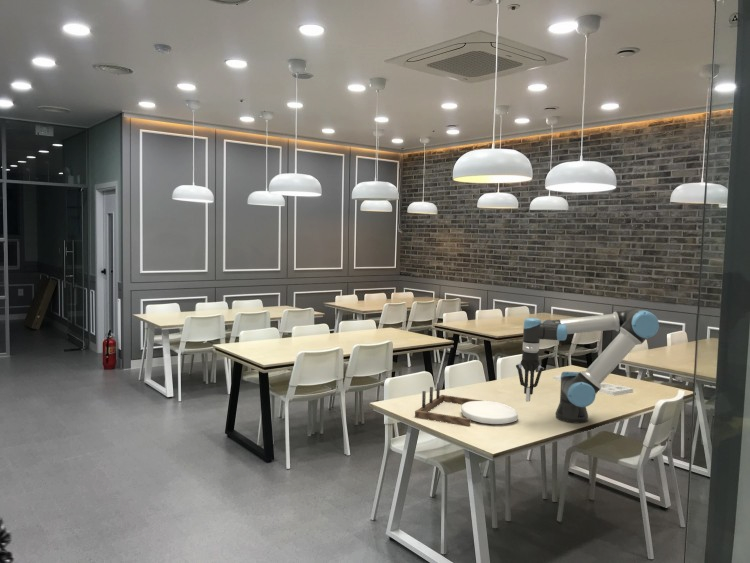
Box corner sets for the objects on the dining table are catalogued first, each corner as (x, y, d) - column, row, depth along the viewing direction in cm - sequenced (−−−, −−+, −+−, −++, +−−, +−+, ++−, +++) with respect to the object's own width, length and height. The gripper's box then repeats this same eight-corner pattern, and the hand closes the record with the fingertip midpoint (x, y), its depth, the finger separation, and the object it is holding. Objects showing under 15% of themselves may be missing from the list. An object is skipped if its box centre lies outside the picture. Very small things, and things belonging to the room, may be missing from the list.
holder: (552, 380, 371) (552, 376, 371) (572, 377, 380) (572, 373, 380) (613, 396, 332) (613, 391, 332) (633, 393, 341) (633, 388, 341)
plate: (529, 414, 273) (480, 419, 264) (528, 427, 274) (479, 432, 265) (497, 393, 299) (451, 397, 289) (496, 405, 300) (450, 409, 290)
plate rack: (490, 407, 300) (491, 386, 299) (468, 426, 267) (469, 402, 266) (441, 400, 312) (442, 380, 312) (414, 417, 279) (415, 394, 279)
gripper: (514, 350, 271) (512, 400, 272) (543, 354, 265) (540, 404, 266) (518, 348, 278) (516, 397, 279) (546, 351, 272) (543, 401, 273)
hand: (528, 400), depth 273 cm, fingers closed
